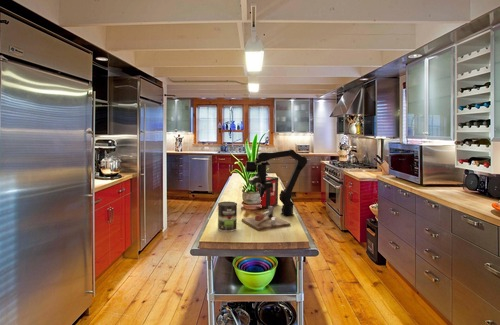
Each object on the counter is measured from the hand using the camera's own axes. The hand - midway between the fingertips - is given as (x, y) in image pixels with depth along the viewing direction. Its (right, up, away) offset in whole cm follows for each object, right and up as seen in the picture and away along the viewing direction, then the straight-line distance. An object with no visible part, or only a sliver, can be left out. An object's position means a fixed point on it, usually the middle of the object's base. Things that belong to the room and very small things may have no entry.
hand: (261, 196), depth 196 cm
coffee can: (-19, -15, -27) cm, 36 cm away
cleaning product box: (+5, -10, +26) cm, 28 cm away
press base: (+2, -14, -16) cm, 21 cm away
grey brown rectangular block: (+6, -13, -21) cm, 26 cm away
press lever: (+1, -12, -13) cm, 18 cm away
